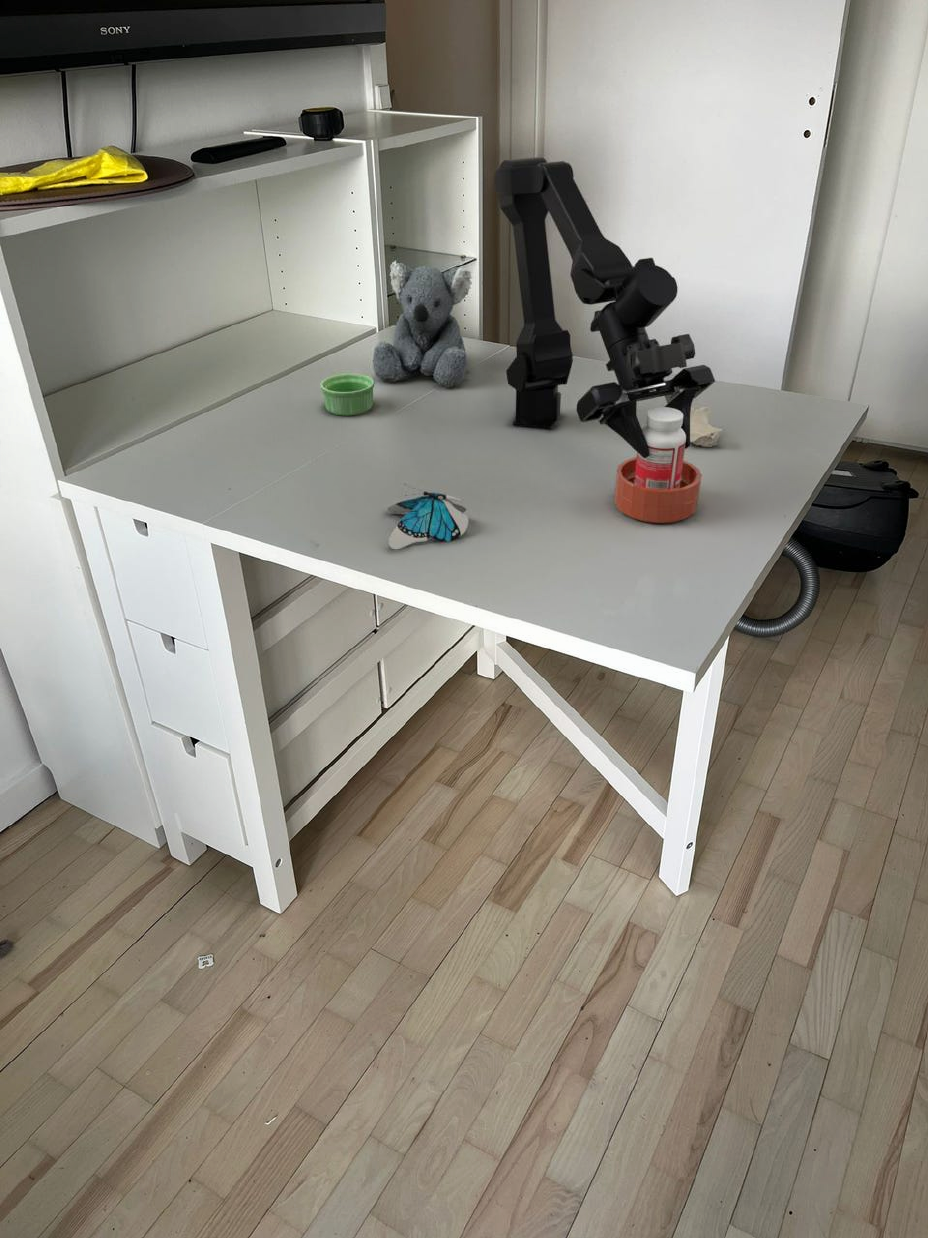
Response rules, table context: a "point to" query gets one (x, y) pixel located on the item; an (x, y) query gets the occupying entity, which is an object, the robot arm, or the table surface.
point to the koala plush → (425, 326)
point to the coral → (702, 428)
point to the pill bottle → (662, 450)
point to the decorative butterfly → (428, 520)
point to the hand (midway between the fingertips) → (667, 452)
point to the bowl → (656, 495)
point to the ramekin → (348, 394)
